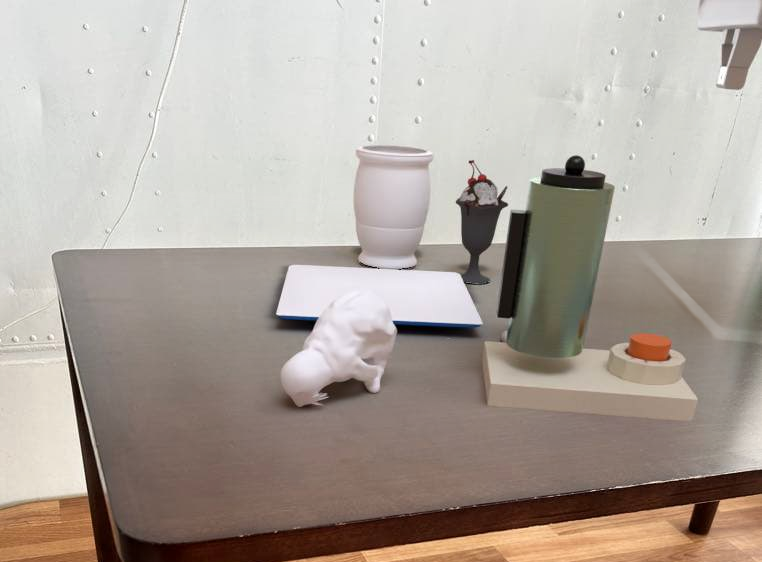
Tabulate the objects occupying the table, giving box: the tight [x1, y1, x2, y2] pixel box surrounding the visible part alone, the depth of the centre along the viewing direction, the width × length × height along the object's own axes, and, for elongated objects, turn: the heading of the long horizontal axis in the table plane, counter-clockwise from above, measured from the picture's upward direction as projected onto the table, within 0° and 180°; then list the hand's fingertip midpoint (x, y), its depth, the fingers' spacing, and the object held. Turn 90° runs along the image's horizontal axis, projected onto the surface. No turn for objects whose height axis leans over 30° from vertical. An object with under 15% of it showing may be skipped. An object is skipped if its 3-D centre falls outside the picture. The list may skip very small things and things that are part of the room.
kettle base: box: [481, 340, 699, 423], centre depth 76 cm, size 18×12×4 cm, turn 85°
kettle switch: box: [627, 332, 673, 362], centre depth 75 cm, size 4×4×2 cm
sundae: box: [455, 159, 509, 283], centre depth 108 cm, size 7×7×15 cm
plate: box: [275, 264, 484, 328], centre depth 98 cm, size 22×22×2 cm
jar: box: [353, 144, 435, 270], centre depth 114 cm, size 11×10×15 cm
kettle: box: [496, 154, 616, 358], centre depth 73 cm, size 8×10×16 cm
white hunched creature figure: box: [280, 290, 398, 408], centre depth 72 cm, size 6×8×12 cm
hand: (728, 89), depth 76 cm, fingers closed
